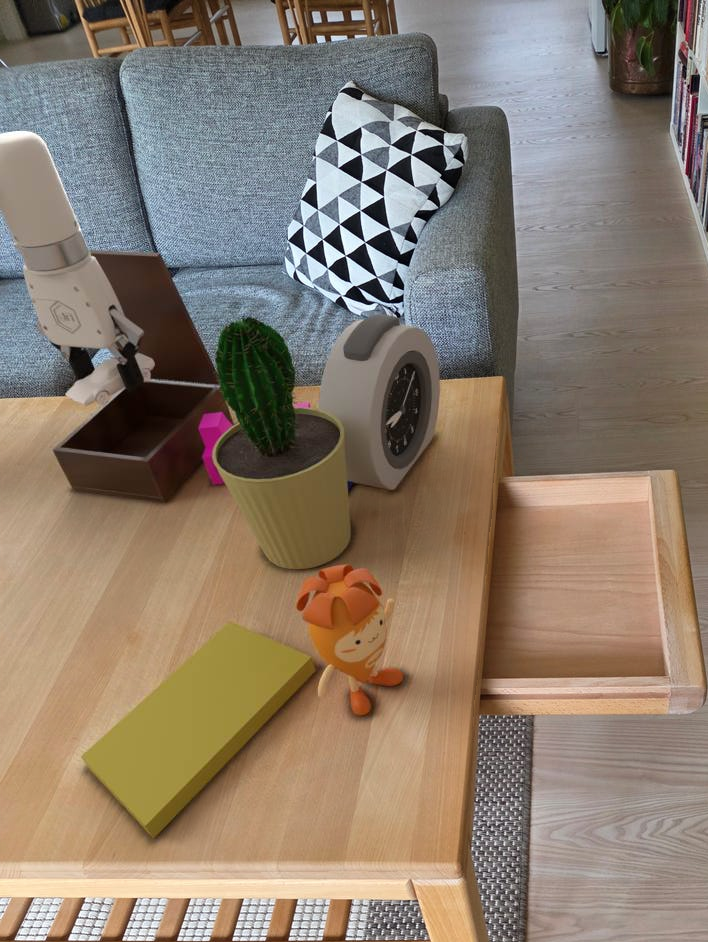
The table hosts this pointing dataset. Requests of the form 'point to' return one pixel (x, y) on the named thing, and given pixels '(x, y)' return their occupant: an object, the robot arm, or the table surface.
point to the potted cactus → (279, 451)
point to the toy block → (211, 432)
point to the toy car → (105, 381)
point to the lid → (157, 315)
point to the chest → (141, 441)
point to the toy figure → (348, 628)
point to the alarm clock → (382, 397)
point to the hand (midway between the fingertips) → (112, 383)
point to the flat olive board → (195, 723)
